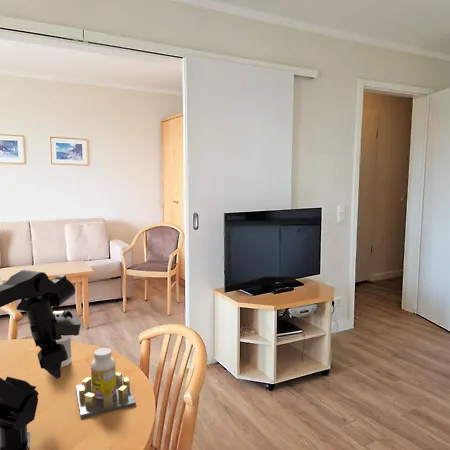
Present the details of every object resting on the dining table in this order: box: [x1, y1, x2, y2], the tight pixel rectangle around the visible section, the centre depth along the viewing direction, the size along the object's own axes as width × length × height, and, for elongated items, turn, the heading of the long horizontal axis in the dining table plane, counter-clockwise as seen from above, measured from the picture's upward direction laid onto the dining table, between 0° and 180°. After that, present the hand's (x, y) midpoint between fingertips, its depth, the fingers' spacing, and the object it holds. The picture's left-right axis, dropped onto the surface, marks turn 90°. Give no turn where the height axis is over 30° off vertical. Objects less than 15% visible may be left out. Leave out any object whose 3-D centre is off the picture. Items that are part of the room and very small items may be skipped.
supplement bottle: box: [90, 347, 117, 399], centre depth 116 cm, size 7×7×13 cm
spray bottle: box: [53, 310, 73, 368], centre depth 136 cm, size 7×7×18 cm
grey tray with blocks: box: [75, 371, 137, 419], centre depth 117 cm, size 16×14×4 cm
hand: (55, 367), depth 107 cm, fingers open, 9 cm apart
